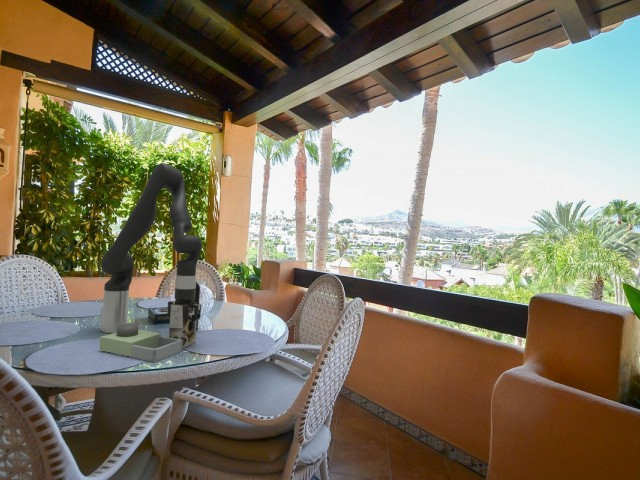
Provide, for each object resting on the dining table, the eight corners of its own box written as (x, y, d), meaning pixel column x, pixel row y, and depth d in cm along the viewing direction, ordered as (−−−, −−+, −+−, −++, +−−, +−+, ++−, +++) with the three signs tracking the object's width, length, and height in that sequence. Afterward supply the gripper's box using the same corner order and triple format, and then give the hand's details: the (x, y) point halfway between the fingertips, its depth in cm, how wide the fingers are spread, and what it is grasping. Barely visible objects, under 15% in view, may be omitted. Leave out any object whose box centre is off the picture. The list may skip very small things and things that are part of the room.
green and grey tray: (99, 351, 132) (100, 328, 132) (131, 341, 145) (132, 320, 145) (154, 362, 124) (155, 338, 124) (182, 350, 137) (183, 329, 137)
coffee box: (183, 348, 140) (185, 305, 139) (167, 346, 141) (170, 304, 141) (196, 342, 148) (198, 301, 148) (181, 340, 150) (183, 300, 150)
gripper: (207, 287, 146) (204, 330, 146) (176, 284, 150) (174, 325, 150) (195, 289, 139) (192, 334, 139) (163, 286, 143) (160, 329, 143)
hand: (183, 329), depth 145 cm, fingers closed on coffee box, 7 cm apart
